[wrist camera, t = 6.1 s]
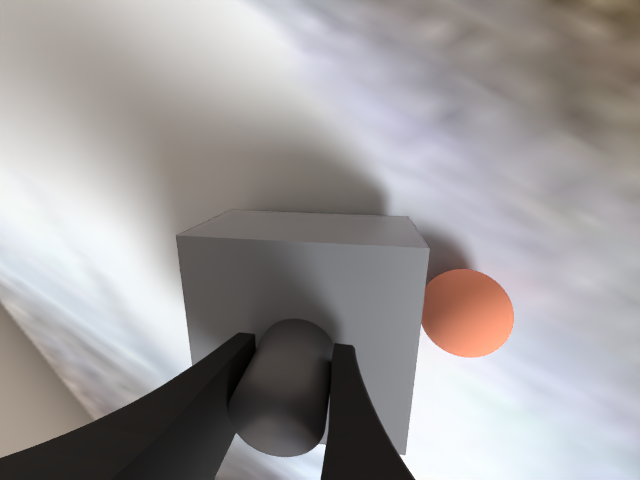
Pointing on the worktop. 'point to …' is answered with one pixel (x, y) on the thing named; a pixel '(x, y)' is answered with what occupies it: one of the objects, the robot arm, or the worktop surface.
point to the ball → (467, 313)
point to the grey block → (307, 315)
